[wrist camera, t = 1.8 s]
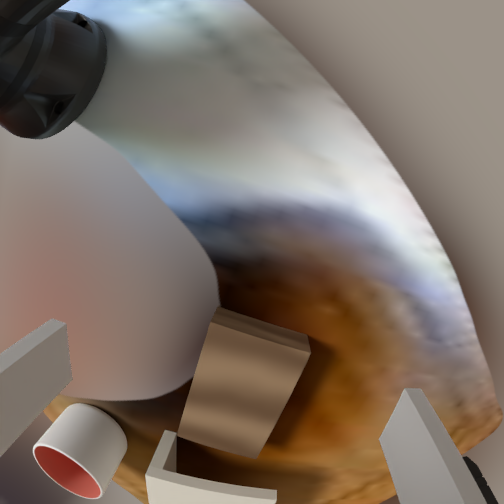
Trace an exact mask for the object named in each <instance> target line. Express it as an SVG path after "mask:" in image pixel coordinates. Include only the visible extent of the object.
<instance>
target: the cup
mask: <svg viewBox="0 0 504 504" xmlns="http://www.w3.org/2000/svg"><path fill="white" fill-rule="evenodd" d="M126 451H127V439H126V436H125V434H124V432H123V430H122V429H121V427H120V426H119V425H118V423H117V422H116V421H115V420H114V419H113V418H112V417H110V416H109V415H108V414H106V413H105V412H103V411H102V410H100V409H98V408H96V407H94V406H91V405H88V404H82V403H77V404H73V405H70V406H69V407H67V408H66V409H65V410H64V411H63V413H62V414H61V415H60V416H59V417H58V418H57V420H56V421H55V422H54V423H53V424H52V425H51V427H50V428H49V429H48V430H47V431H46V432H45V434H44V435H43V436H42V437H41V438H40V439H39V441H38V442H37V443H36V444H35V445H34V447H33V453H34V456H35V459H36V461H37V462H38V464H39V465H40V467H41V468H42V469H43V471H44V472H45V473H46V474H47V475H48V476H49V477H50V478H52V479H53V480H54V481H55V482H56V483H58V484H59V485H60V486H62V487H64V488H65V489H66V490H68V491H70V492H72V493H74V494H76V495H79V496H81V497H84V498H89V499H98V498H101V497H102V496H103V494H104V492H105V490H106V488H107V486H108V485H109V483H110V481H111V479H112V477H113V475H114V473H115V471H116V470H117V468H118V466H119V464H120V462H121V460H122V458H123V457H124V455H125V453H126Z"/></svg>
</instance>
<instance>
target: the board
mask: <svg viewBox="0 0 504 504" xmlns="http://www.w3.org/2000/svg"><path fill="white" fill-rule="evenodd" d="M310 354H311V350H310V345H309V340H308V335H306V334H302V333H299V332H296V331H292V330H289V329H286V328H283V327H279V326H276V325H273V324H270V323H267V322H263V321H260V320H257V319H254V318H251V317H248V316H245V315H242V314H239V313H236V312H233V311H230V310H227V309H224V308H221V307H220V305H218V307H217V309H216V312H215V313H214V316H213V318H212V320H211V322H210V325H209V329H208V332H207V335H206V339H205V342H204V345H203V349H202V352H201V355H200V358H199V362H198V365H197V368H196V372H195V375H194V378H193V382H192V385H191V388H190V392H189V395H188V398H187V402H186V405H185V409H184V412H183V416H182V419H181V422H180V426H179V429H178V433H177V436H179V437H181V438H184V439H187V440H190V441H193V442H196V443H199V444H203V445H206V446H209V447H212V448H216V449H219V450H223V451H226V452H230V453H234V454H237V455H241V456H245V457H249V458H253V459H256V458H257V457H258V455H259V453H260V451H261V450H262V448H263V446H264V444H265V442H266V441H267V439H268V437H269V435H270V433H271V432H272V430H273V428H274V426H275V424H276V422H277V420H278V419H279V417H280V415H281V413H282V411H283V409H284V407H285V405H286V403H287V401H288V399H289V397H290V395H291V393H292V391H293V389H294V387H295V385H296V383H297V381H298V379H299V377H300V375H301V373H302V371H303V369H304V367H305V365H306V363H307V361H308V359H309V356H310Z"/></svg>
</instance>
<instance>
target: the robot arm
mask: <svg viewBox="0 0 504 504" xmlns="http://www.w3.org/2000/svg"><path fill="white" fill-rule="evenodd" d="M68 1H69V0H0V125H1V126H2V127H3V128H5V129H6V130H8V131H9V132H10V133H12V134H14V135H16V136H19V137H22V138H30V139H43V138H48V137H51V136H53V135H55V134H57V133H59V132H61V131H62V130H64V129H65V128H66V127H67V126H69V125H70V124H71V123H72V122H73V121H74V120H75V119H76V118H77V117H78V116H79V115H80V114H81V112H82V111H83V110H84V109H85V107H86V106H87V104H88V103H89V101H90V100H91V98H92V97H93V95H94V93H95V91H96V89H97V87H98V85H99V82H100V80H101V77H102V74H103V71H104V67H105V62H106V52H107V49H106V41H105V37H104V34H103V32H102V30H101V29H100V27H99V26H98V25H97V24H96V23H94V22H93V21H92V20H90V19H89V18H88V17H87V16H85V15H83V14H80V13H78V12H73V11H67V10H60V9H58V8H60V7H61V6H63V5H64V4H65V3H67V2H68ZM70 381H72V372H71V364H70V356H69V347H68V336H67V325H66V323H63V322H60V321H58V320H55V319H51V320H49V321H47V322H46V323H44V324H43V325H42V326H40V327H39V328H37V329H36V330H34V331H33V332H31V333H30V334H28V335H27V336H25V337H24V338H22V339H21V340H20V341H18V342H17V343H16V344H14V345H12V346H11V347H10V348H8V349H7V350H5V351H4V352H2V353H1V354H0V457H1V456H2V455H3V453H4V452H5V451H6V450H7V449H8V448H9V447H10V446H11V445H12V444H13V442H14V441H15V440H16V439H17V438H18V437H19V436H20V435H21V434H22V432H23V431H24V430H25V429H26V428H27V427H28V426H29V425H30V424H31V423H32V422H33V421H34V420H35V418H36V417H37V416H38V415H39V414H40V413H41V412H42V411H43V410H44V409H45V408H46V407H47V406H48V405H49V404H50V402H51V401H52V400H53V399H54V398H55V397H56V396H57V395H58V394H59V393H60V392H61V391H62V390H63V389H64V388H65V387H66V385H68V384H69V383H70ZM379 441H380V444H381V447H382V449H383V452H384V455H385V458H386V461H387V464H388V467H389V470H390V473H391V476H392V479H393V482H394V485H395V489H396V492H397V495H398V498H399V501H400V504H498V502H497V500H496V498H495V496H494V495H493V493H492V491H491V489H490V487H489V486H487V482H486V480H485V478H484V477H482V473H481V472H480V470H479V468H478V466H477V465H476V464H475V463H474V462H473V461H471V459H469V458H468V457H467V456H466V457H462V456H461V455H460V453H459V451H458V449H457V448H456V446H455V444H454V442H453V441H452V439H451V437H450V436H449V434H448V432H447V430H446V429H445V427H444V425H443V424H442V422H441V420H440V419H439V417H438V415H437V414H436V412H435V411H434V409H433V407H432V406H431V404H430V402H429V401H428V399H427V398H426V396H425V394H424V393H423V391H422V390H421V389H418V388H404V390H403V393H402V395H401V397H400V399H399V401H398V403H397V405H396V407H395V409H394V411H393V413H392V415H391V417H390V419H389V421H388V423H387V425H386V427H385V429H384V431H383V432H382V434H381V436H380V438H379Z"/></svg>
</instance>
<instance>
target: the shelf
mask: <svg viewBox="0 0 504 504" xmlns="http://www.w3.org/2000/svg"><path fill="white" fill-rule="evenodd" d="M176 444H177V433H175V432H171V431H167V430H165V431H164V434H163V436H162V438H161V440H160V443H159V445H158V447H157V449H156V452H155V454H154V456H153V458H152V461H151V463H150V465H149V467H148V470H147V472H146V474H145V477H146V485H147V492H148V499H149V504H275V503H276V501H277V490H271V489H262V488H253V487H246V486H239V485H232V484H226V483H220V482H215V481H210V480H205V479H200V478H195V477H191V476H186V475H182V474H178V473H176Z"/></svg>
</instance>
